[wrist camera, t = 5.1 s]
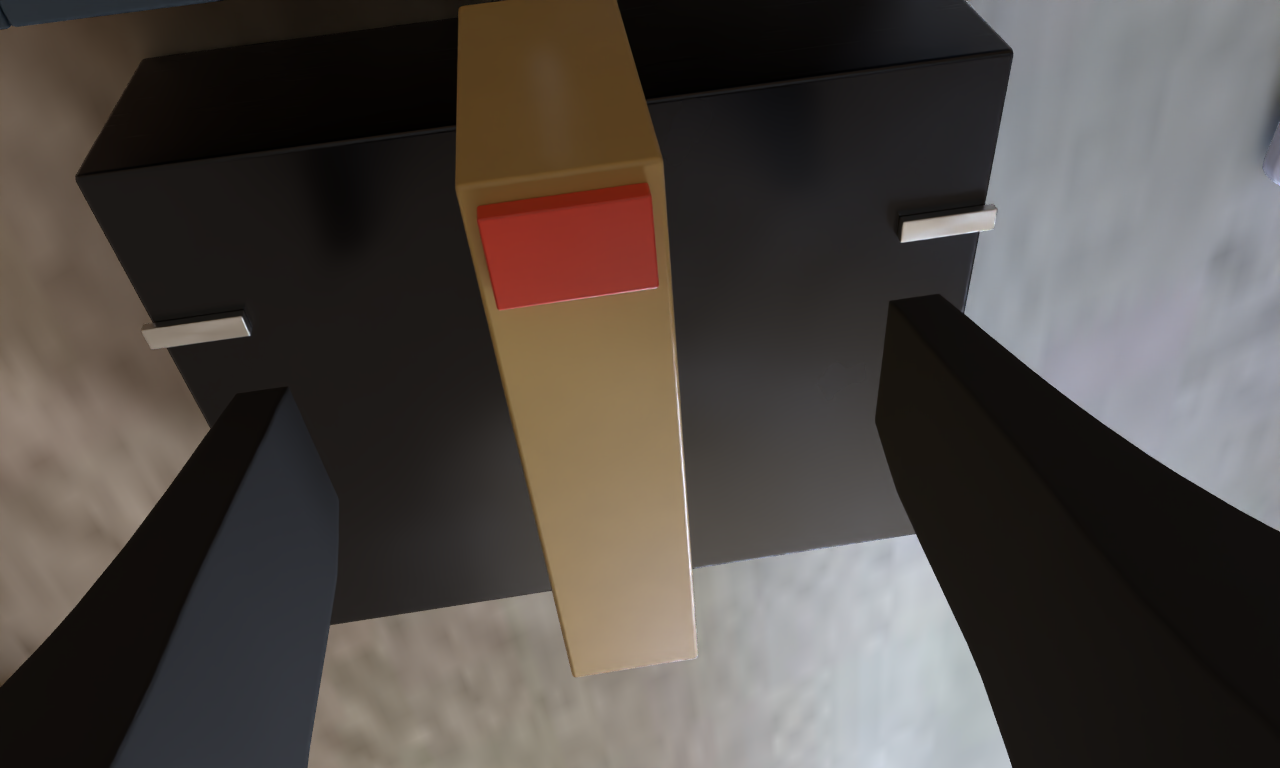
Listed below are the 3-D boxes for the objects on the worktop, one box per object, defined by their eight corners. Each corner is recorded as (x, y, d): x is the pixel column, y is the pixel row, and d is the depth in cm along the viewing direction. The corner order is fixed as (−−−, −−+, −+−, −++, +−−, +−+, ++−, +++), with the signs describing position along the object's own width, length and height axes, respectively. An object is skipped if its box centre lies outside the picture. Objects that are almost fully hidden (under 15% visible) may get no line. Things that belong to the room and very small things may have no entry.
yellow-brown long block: (658, 454, 17) (702, 674, 14) (554, 470, 17) (574, 695, 13) (612, -16, 11) (667, 172, 8) (457, 5, 11) (453, 201, 8)
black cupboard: (874, 412, 22) (930, 540, 19) (330, 493, 21) (311, 637, 19) (964, -333, 13) (1097, -284, 10) (9, -219, 12) (-122, -137, 9)
